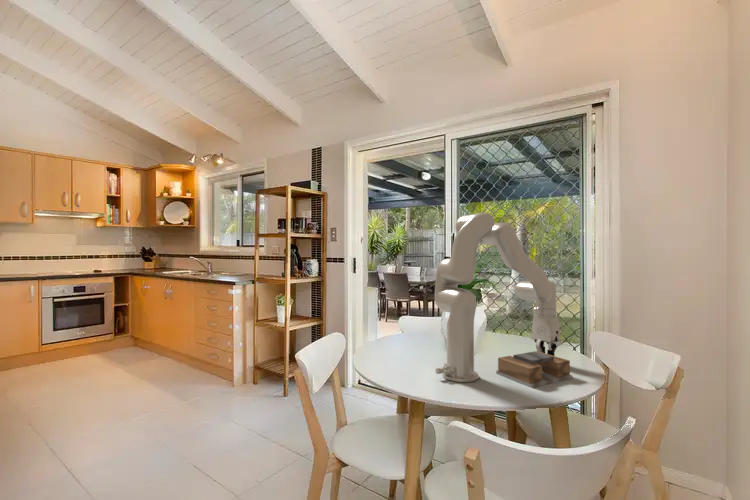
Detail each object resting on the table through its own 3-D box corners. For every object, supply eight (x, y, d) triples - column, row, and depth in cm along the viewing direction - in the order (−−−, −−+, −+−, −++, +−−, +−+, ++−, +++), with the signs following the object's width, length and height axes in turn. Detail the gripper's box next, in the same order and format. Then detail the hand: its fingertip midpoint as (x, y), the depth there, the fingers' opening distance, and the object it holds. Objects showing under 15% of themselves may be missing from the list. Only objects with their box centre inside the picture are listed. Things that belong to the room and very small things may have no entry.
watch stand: (531, 387, 122) (531, 365, 122) (496, 373, 136) (496, 353, 136) (572, 378, 130) (572, 357, 131) (535, 365, 145) (535, 347, 145)
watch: (559, 364, 146) (559, 336, 146) (542, 366, 144) (541, 338, 144) (549, 360, 151) (549, 333, 151) (532, 362, 149) (532, 335, 150)
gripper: (522, 309, 153) (523, 354, 153) (557, 316, 138) (558, 365, 138) (535, 308, 157) (535, 351, 157) (571, 314, 142) (571, 362, 142)
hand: (546, 357), depth 148 cm, fingers closed on watch, 3 cm apart
